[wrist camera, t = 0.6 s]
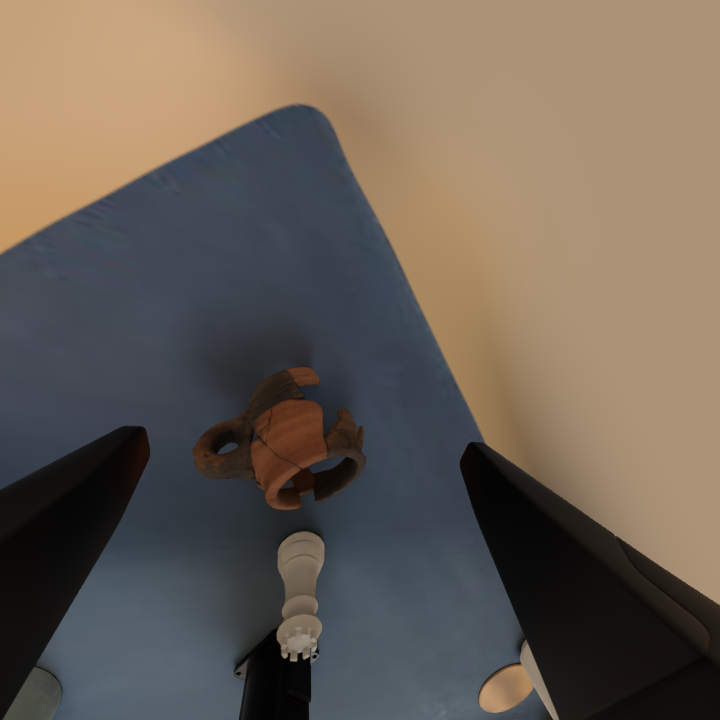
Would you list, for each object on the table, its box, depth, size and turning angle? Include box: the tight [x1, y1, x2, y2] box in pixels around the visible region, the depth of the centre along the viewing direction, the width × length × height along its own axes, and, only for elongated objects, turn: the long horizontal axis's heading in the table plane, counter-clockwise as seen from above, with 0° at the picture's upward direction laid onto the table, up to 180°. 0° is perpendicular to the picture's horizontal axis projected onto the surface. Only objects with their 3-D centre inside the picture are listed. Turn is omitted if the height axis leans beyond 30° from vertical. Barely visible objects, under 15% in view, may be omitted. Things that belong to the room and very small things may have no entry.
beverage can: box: [520, 640, 559, 720], centre depth 32 cm, size 6×6×12 cm
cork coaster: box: [479, 664, 534, 713], centre depth 39 cm, size 9×9×1 cm
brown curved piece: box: [192, 367, 366, 510], centre depth 21 cm, size 12×10×8 cm
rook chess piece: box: [277, 531, 324, 661], centre depth 23 cm, size 4×4×8 cm
